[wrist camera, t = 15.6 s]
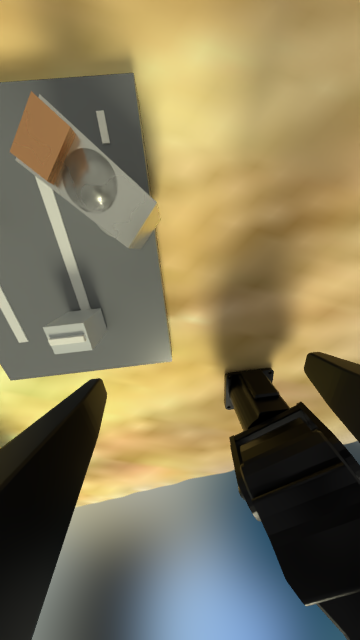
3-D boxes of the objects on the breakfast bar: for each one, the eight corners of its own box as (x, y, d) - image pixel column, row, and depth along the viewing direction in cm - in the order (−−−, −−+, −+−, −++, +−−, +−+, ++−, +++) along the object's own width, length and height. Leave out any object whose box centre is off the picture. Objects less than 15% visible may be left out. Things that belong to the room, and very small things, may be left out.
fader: (107, 330, 17) (91, 352, 13) (76, 334, 17) (52, 356, 13) (100, 308, 16) (81, 324, 12) (68, 311, 16) (39, 329, 12)
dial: (160, 219, 13) (156, 200, 8) (141, 249, 14) (126, 248, 9) (90, 156, 12) (30, 82, 7) (72, 194, 12) (5, 154, 7)
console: (171, 351, 21) (172, 362, 19) (25, 368, 20) (9, 381, 18) (138, 99, 12) (132, 69, 10) (-116, 119, 12) (-175, 91, 10)
